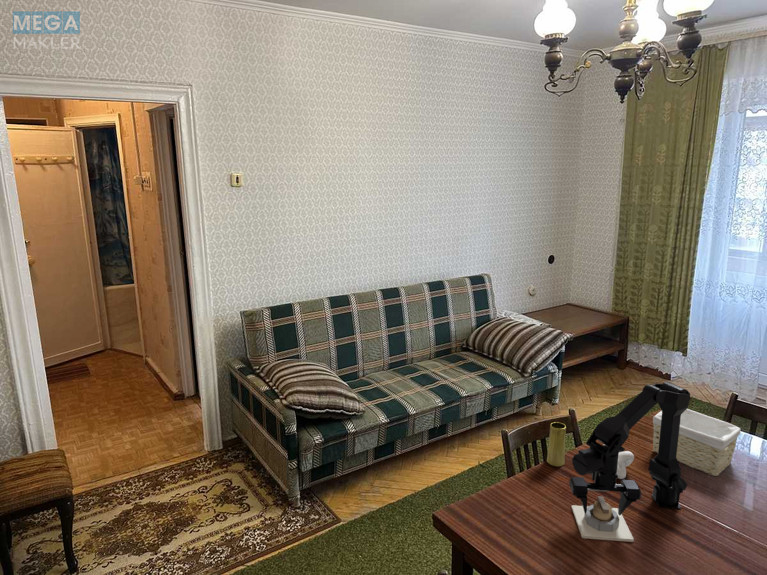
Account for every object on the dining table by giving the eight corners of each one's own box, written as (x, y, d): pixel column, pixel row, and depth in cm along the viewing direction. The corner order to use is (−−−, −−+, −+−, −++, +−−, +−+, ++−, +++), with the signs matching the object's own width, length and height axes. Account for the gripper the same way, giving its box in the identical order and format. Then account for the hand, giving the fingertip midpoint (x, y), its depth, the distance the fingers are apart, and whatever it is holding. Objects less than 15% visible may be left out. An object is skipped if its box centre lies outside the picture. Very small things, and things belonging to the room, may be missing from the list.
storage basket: (737, 464, 189) (743, 426, 186) (718, 481, 179) (724, 441, 176) (667, 438, 207) (671, 402, 204) (647, 452, 197) (651, 415, 194)
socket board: (618, 510, 165) (619, 501, 164) (633, 541, 151) (634, 532, 150) (571, 507, 166) (572, 498, 166) (582, 538, 153) (582, 528, 152)
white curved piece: (586, 470, 186) (588, 447, 184) (605, 458, 193) (607, 436, 191) (618, 485, 177) (620, 461, 175) (636, 472, 185) (638, 448, 183)
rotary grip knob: (613, 529, 155) (615, 510, 154) (595, 527, 156) (597, 509, 154) (606, 515, 161) (608, 496, 160) (589, 513, 162) (591, 495, 160)
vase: (565, 467, 188) (568, 430, 185) (547, 465, 189) (549, 428, 186) (563, 458, 194) (566, 422, 190) (545, 456, 195) (548, 420, 192)
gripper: (631, 452, 161) (626, 498, 165) (567, 449, 163) (563, 494, 167) (644, 473, 150) (638, 522, 154) (575, 470, 152) (571, 518, 156)
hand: (602, 513), depth 158 cm, fingers open, 9 cm apart
